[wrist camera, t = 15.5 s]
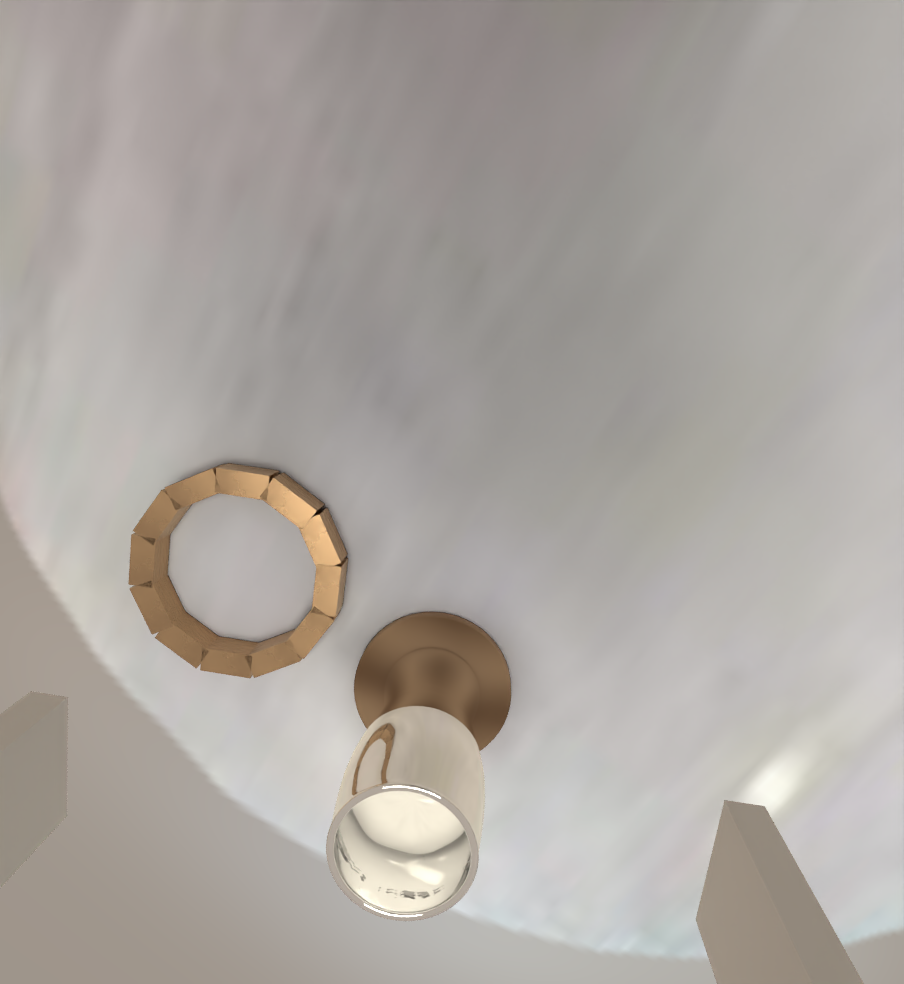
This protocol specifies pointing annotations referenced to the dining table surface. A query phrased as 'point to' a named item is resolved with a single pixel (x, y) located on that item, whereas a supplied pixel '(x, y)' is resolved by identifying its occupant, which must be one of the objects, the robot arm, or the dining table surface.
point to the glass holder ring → (189, 633)
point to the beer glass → (413, 794)
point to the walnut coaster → (441, 635)
